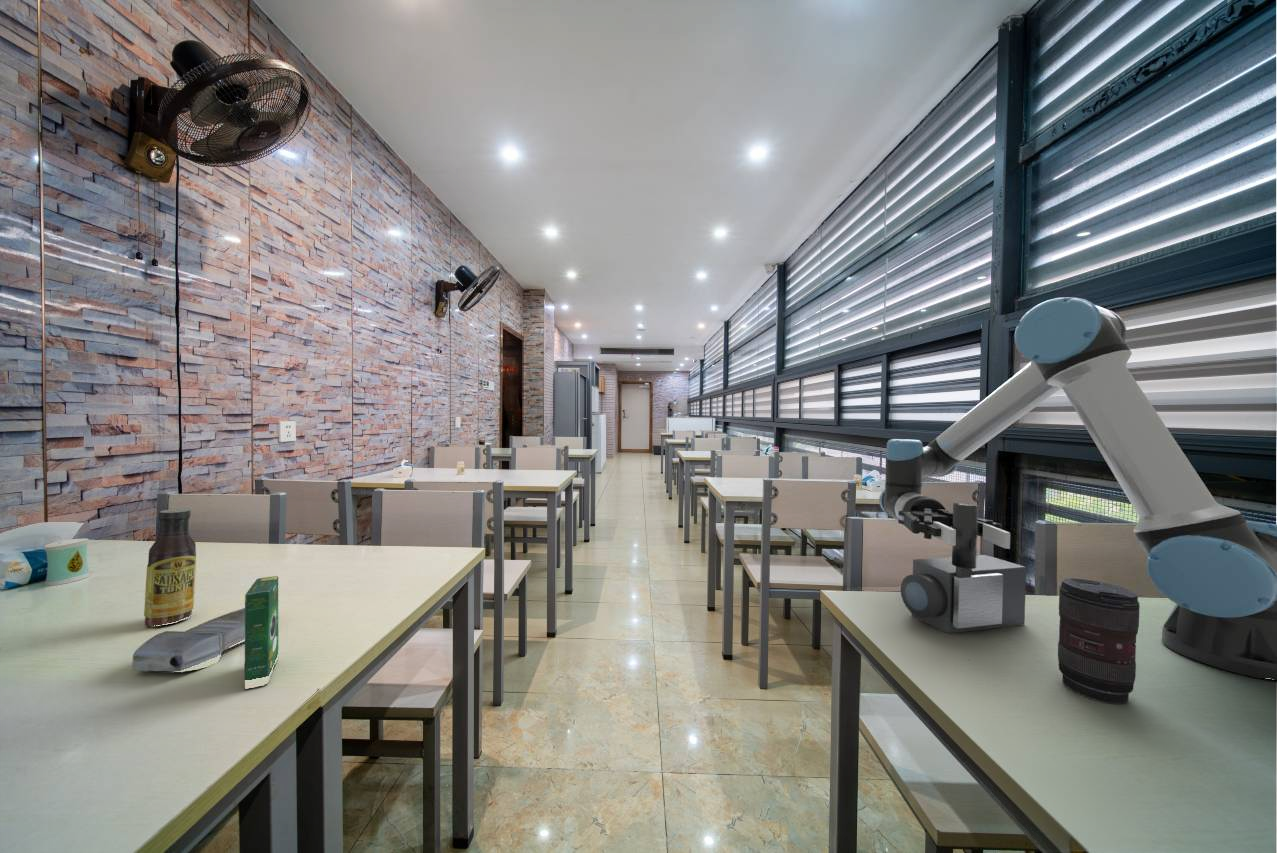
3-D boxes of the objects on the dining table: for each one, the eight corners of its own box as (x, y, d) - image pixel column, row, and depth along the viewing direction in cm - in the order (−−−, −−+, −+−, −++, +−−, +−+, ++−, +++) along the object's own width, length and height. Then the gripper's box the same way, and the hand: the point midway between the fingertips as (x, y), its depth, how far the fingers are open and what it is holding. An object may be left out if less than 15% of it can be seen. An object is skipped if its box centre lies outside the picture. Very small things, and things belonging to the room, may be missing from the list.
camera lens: (1154, 712, 61) (1157, 599, 61) (1082, 703, 63) (1086, 594, 62) (1105, 678, 69) (1108, 579, 69) (1043, 671, 70) (1046, 574, 70)
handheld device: (299, 620, 84) (299, 595, 84) (188, 683, 64) (188, 650, 64) (248, 618, 85) (248, 593, 85) (122, 680, 65) (122, 647, 65)
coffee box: (255, 663, 69) (255, 576, 69) (279, 659, 70) (280, 573, 70) (242, 691, 62) (242, 594, 62) (269, 685, 63) (270, 591, 63)
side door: (989, 618, 86) (992, 501, 86) (1009, 626, 83) (1012, 505, 82) (945, 623, 84) (948, 502, 84) (963, 632, 80) (966, 506, 80)
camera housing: (983, 607, 95) (985, 554, 95) (1025, 624, 87) (1027, 567, 87) (898, 616, 90) (899, 560, 90) (934, 635, 82) (936, 574, 82)
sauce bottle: (149, 632, 78) (150, 515, 78) (139, 623, 81) (139, 511, 81) (201, 618, 84) (201, 509, 83) (189, 610, 87) (190, 505, 87)
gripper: (971, 532, 98) (1048, 565, 76) (869, 527, 102) (913, 557, 79) (972, 497, 98) (1049, 520, 76) (870, 493, 102) (914, 513, 79)
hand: (980, 539), depth 77 cm, fingers open, 8 cm apart
